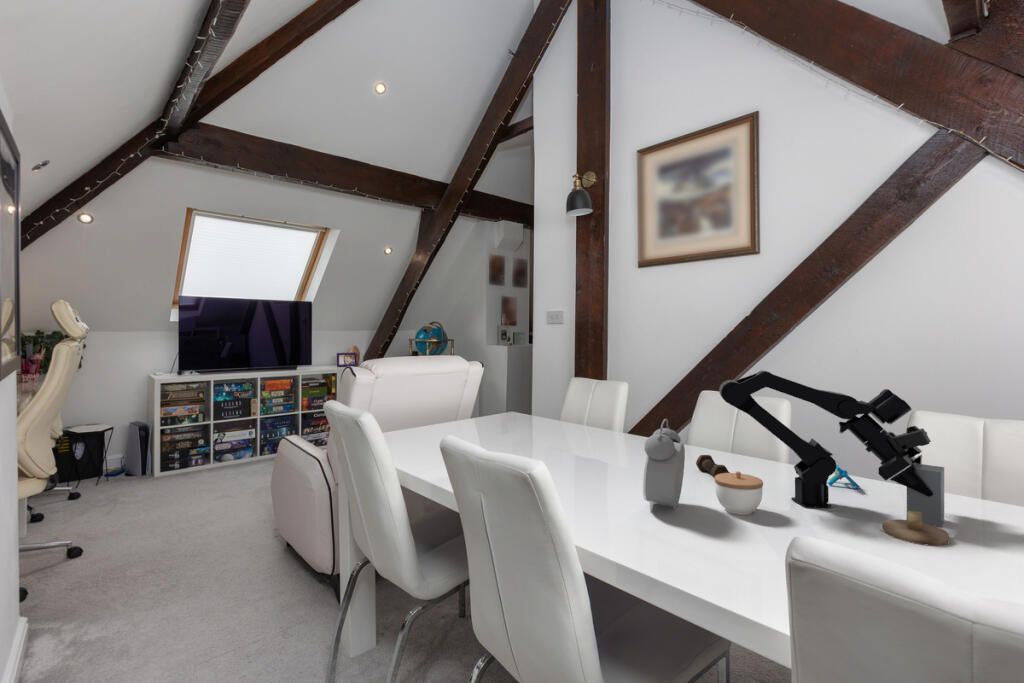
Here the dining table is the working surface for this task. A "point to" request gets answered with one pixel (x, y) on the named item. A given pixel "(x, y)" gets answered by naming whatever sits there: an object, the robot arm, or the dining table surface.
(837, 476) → the blue thin-armed part
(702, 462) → the bolt
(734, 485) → the lidded jar
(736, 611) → the dining table surface
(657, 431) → the alarm clock
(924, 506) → the block
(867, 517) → the dining table surface
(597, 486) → the dining table surface
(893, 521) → the stub base
